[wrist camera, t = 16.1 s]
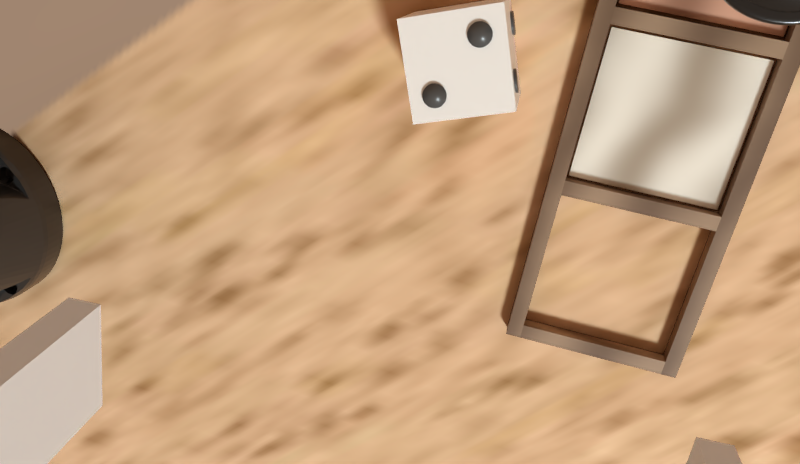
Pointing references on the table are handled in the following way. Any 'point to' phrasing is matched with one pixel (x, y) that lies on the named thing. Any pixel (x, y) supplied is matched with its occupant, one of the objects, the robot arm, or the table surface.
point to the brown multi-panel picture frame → (664, 142)
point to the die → (460, 61)
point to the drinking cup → (769, 10)
